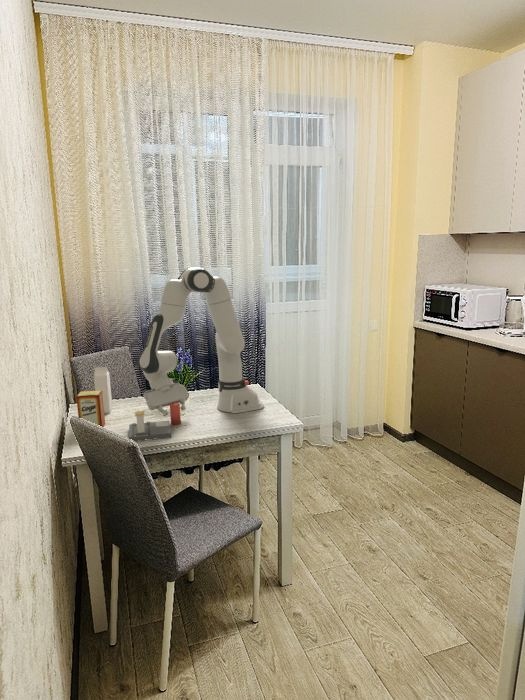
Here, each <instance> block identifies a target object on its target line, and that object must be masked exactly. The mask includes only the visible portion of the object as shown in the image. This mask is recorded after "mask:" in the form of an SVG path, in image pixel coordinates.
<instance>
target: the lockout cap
mask: <svg viewBox="0 0 525 700" xmlns="http://www.w3.org/2000/svg"><path fill="white" fill-rule="evenodd" d="M180 405H181V404H180V403H171V404H170V405H169V414H170V426H171V425H172V426H178V425H181V423H182V421H181V408H180V407H181V406H180Z"/></svg>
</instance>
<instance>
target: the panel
mask: <svg viewBox="0 0 525 700" xmlns="http://www.w3.org/2000/svg"><path fill="white" fill-rule="evenodd" d="M144 429H147V435H141V436H136V430H137V422H133V423H130V424H129V426H128V440H129V439H132V440H134V441H133V442H139V441H138V440H142V441H146V440H145V439H152V440H155V439H154V438H161V439H166V438H165V437H170V438H172V431H171V430H172V429H171V423H170V420H163V421H162V420H160V421H159V420H158V421H146V422H144Z"/></svg>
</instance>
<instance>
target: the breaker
mask: <svg viewBox="0 0 525 700" xmlns="http://www.w3.org/2000/svg"><path fill="white" fill-rule="evenodd" d="M134 416H136V418H135V419H136V424H137V430H136V436H141V435H147V429H144V423H145V419H144V418H145V417H144V416H145V410H140V411H139V410H137V411H135V413H134Z"/></svg>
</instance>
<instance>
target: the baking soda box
mask: <svg viewBox="0 0 525 700" xmlns="http://www.w3.org/2000/svg"><path fill="white" fill-rule="evenodd" d="M75 397H76V407H77V415H78V416H77V417H78V419H79V418H83V419H85V420H87V421H90V422H92V423H95V424H97V425H100V426H102V427H103V428H104V427H105V425H106V418H105V413H104V405H103V394H102V391H95V390H89V391H88V390H87V391H84V390H83V391H79V392H78V394H77V395H76V396H75Z"/></svg>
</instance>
